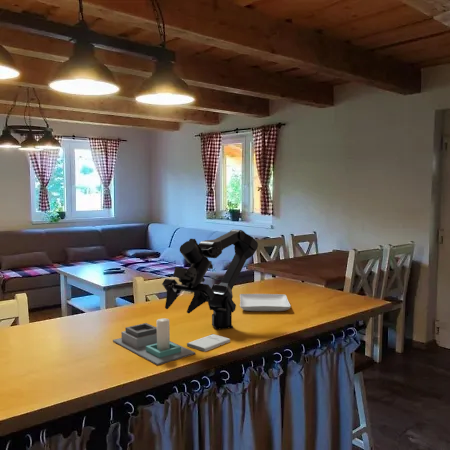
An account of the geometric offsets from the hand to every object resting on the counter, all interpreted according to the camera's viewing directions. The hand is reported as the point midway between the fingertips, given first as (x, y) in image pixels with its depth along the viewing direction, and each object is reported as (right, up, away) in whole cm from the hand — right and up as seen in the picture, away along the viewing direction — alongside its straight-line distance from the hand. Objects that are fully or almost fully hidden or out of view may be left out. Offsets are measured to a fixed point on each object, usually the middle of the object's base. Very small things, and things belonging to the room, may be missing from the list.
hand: (176, 310), depth 153 cm
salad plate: (+33, -8, +51) cm, 61 cm away
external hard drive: (+10, -12, +4) cm, 17 cm away
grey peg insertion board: (-8, -12, 0) cm, 15 cm away
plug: (-4, -12, -5) cm, 13 cm away
